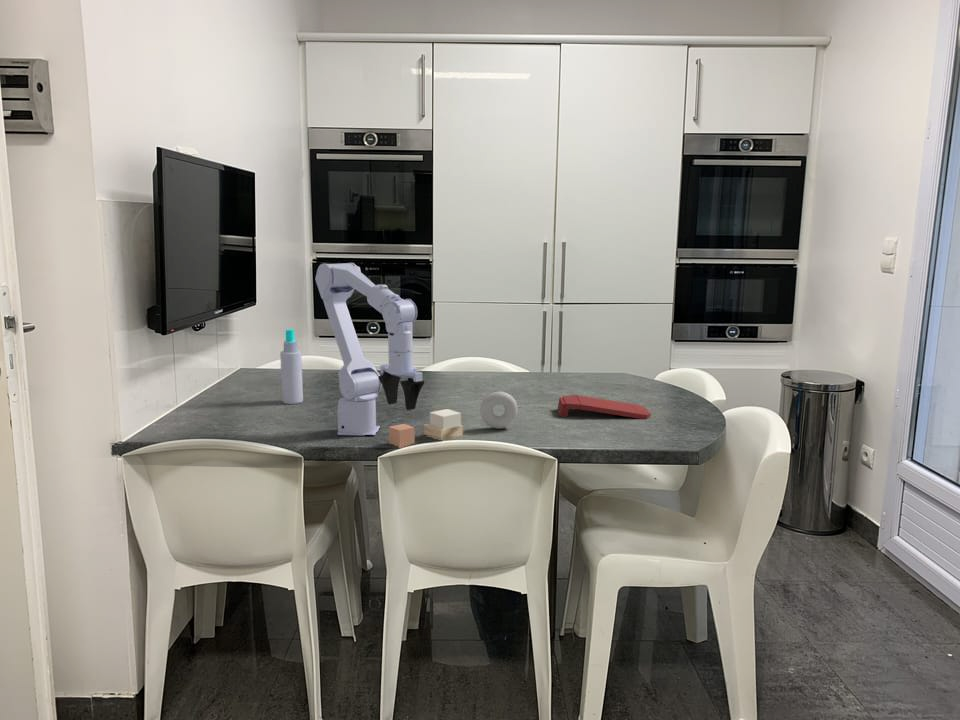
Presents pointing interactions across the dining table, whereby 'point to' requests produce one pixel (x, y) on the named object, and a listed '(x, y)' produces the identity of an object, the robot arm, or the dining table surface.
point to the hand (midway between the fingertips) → (401, 406)
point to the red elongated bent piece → (601, 406)
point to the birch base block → (443, 432)
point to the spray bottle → (291, 371)
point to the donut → (489, 404)
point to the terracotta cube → (401, 435)
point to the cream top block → (445, 419)
